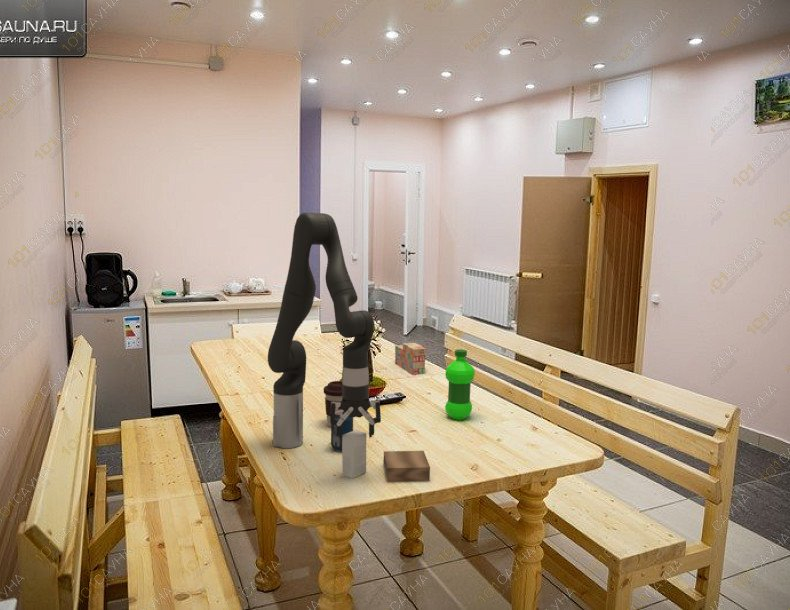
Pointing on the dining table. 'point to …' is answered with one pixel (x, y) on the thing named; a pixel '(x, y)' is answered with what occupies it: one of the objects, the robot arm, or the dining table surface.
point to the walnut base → (406, 466)
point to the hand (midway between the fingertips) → (355, 437)
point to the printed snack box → (410, 358)
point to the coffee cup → (332, 396)
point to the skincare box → (354, 453)
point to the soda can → (346, 428)
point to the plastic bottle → (459, 386)
